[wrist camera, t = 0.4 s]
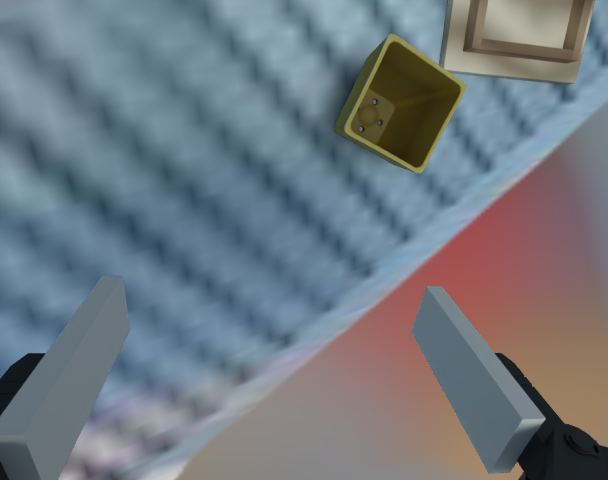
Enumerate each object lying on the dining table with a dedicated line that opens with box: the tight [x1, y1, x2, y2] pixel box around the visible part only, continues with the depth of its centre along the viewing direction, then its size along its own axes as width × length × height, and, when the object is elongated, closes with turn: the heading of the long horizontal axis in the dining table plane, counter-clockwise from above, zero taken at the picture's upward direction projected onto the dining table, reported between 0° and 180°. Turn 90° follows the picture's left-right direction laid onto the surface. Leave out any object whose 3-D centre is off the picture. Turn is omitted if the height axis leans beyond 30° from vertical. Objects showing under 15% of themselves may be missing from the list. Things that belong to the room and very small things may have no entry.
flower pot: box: [334, 33, 466, 173], centre depth 34 cm, size 9×9×9 cm
